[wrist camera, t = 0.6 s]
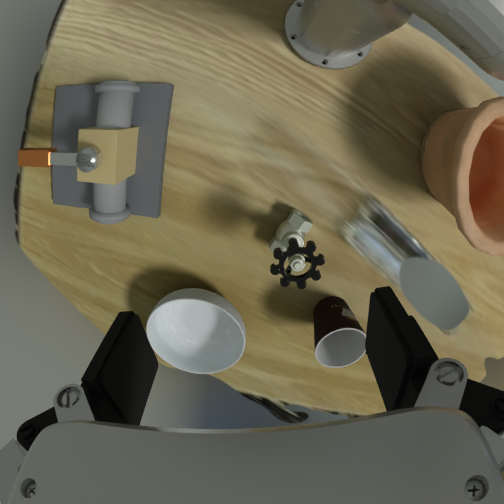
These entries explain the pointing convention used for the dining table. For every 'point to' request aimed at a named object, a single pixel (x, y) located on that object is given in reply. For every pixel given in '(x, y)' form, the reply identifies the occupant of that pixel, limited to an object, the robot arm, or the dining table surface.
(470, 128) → the pottery
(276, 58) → the dining table surface
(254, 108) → the dining table surface
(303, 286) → the valve
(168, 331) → the cereal bowl
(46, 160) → the valve lever
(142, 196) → the valve board
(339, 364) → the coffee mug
